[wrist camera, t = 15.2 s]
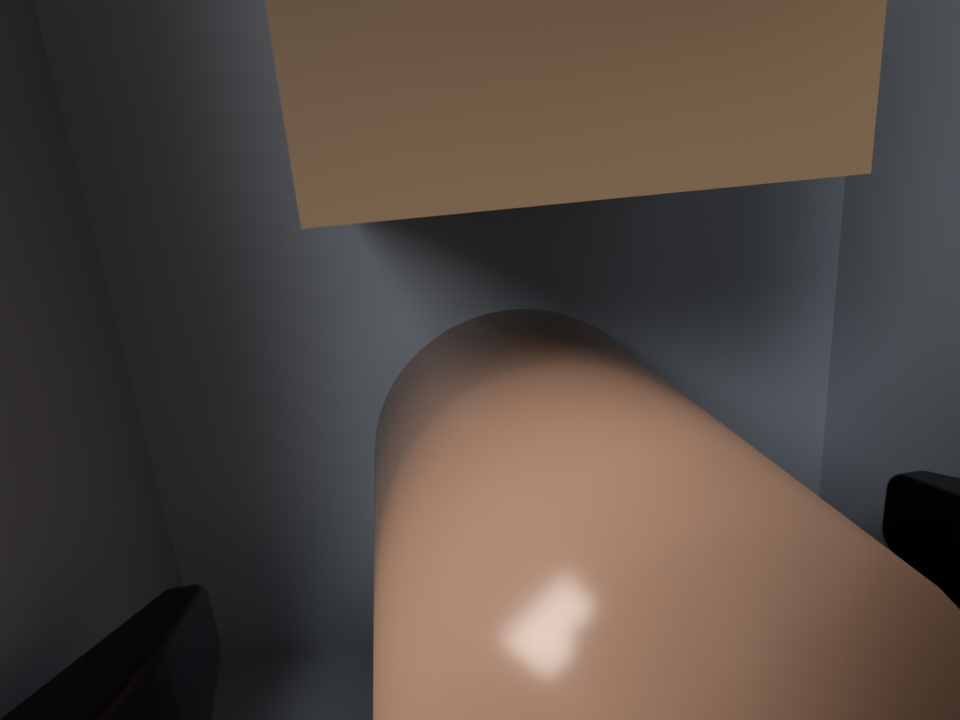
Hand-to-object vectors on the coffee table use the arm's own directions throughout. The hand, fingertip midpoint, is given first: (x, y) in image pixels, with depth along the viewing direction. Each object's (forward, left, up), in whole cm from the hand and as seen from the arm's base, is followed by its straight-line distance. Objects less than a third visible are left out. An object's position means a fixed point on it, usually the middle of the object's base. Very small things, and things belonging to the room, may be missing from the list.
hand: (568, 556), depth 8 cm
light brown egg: (0, 0, -3) cm, 3 cm away
